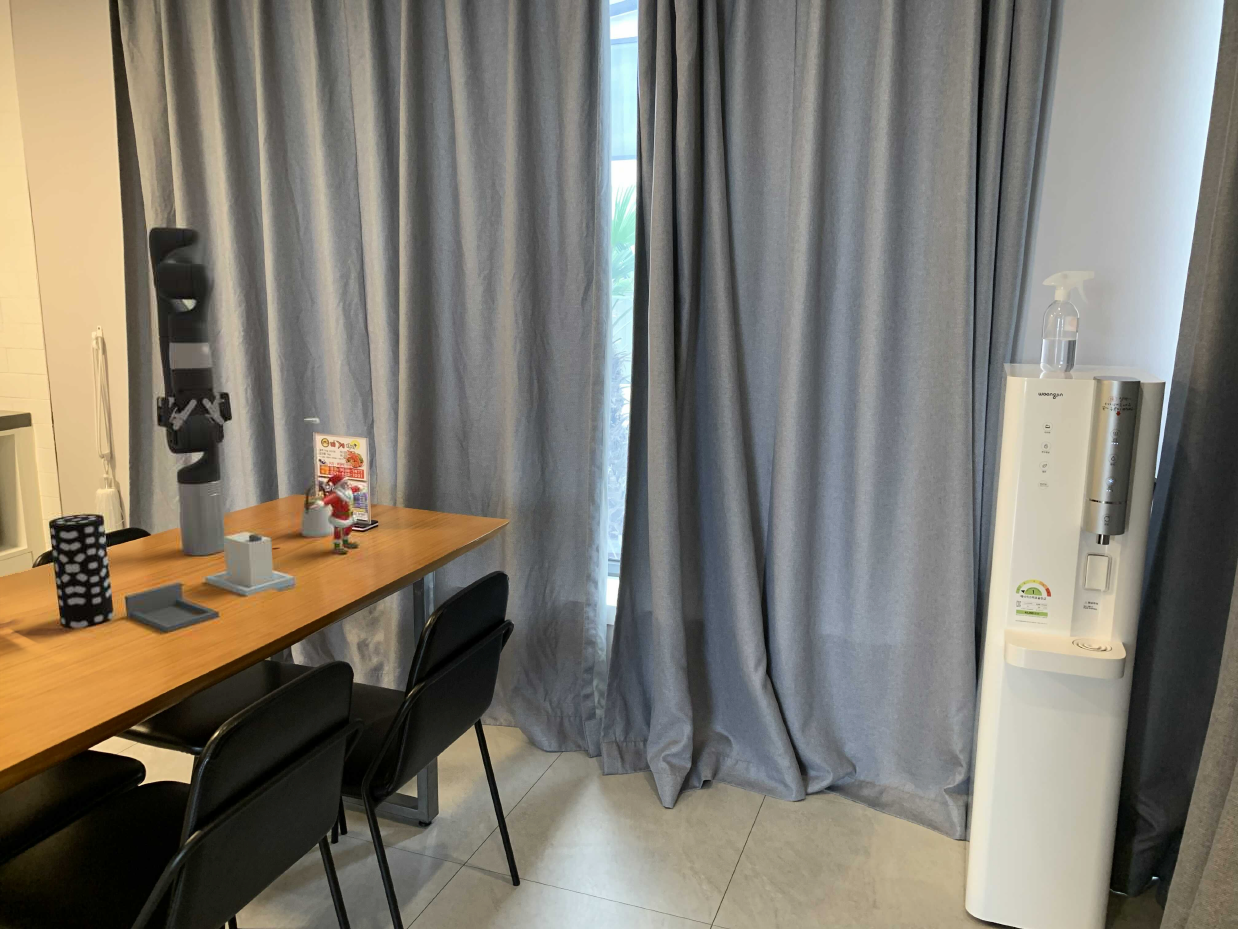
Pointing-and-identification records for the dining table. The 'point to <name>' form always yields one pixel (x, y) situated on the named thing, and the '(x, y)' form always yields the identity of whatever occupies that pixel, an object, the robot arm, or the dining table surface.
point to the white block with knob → (248, 559)
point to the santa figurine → (340, 511)
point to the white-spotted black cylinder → (81, 570)
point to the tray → (278, 584)
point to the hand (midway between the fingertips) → (197, 445)
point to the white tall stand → (315, 519)
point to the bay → (166, 608)
